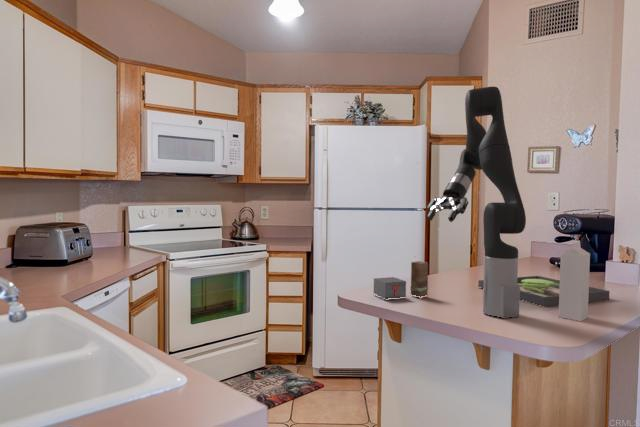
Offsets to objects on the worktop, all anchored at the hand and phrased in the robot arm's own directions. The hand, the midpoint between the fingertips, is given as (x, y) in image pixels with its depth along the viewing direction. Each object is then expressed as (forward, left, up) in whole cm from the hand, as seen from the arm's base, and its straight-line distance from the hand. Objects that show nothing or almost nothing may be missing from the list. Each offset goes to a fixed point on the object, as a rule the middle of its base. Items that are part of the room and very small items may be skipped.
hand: (439, 219), depth 161 cm
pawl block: (-1, +21, -26) cm, 34 cm away
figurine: (-14, -34, -27) cm, 45 cm away
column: (-4, +11, -26) cm, 29 cm away
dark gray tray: (-14, -34, -26) cm, 46 cm away
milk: (-41, -17, -27) cm, 52 cm away
